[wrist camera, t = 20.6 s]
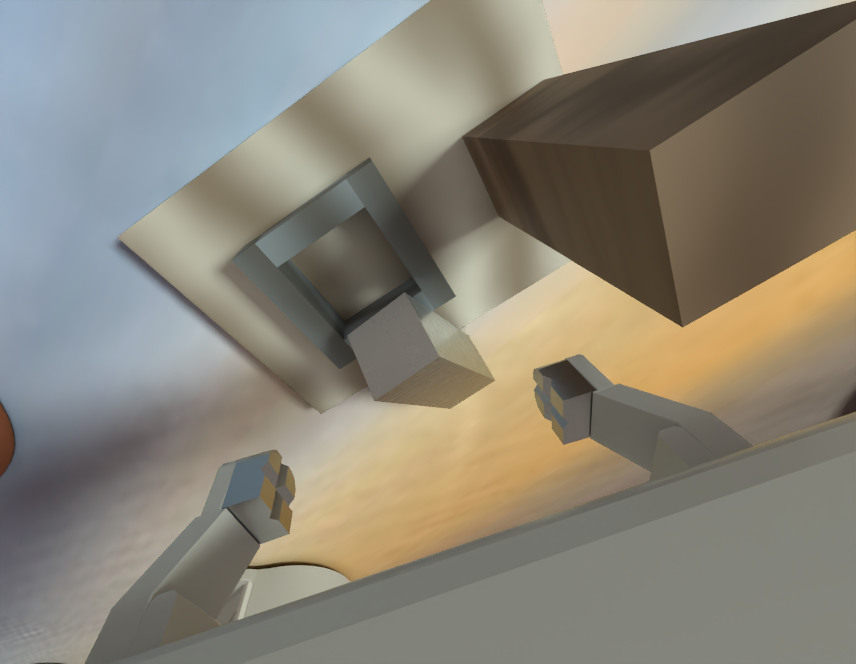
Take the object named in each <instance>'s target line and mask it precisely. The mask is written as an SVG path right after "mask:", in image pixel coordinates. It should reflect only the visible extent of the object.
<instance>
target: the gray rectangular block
mask: <svg viewBox="0 0 856 664" xmlns="http://www.w3.org/2000/svg"><path fill="white" fill-rule="evenodd" d="M347 337H348V339H349V341H350V344H351V346H352V348H353V351H354V353H355V356H356V358H357V360H358V363H359V365H360V368H361V370H362V372H363V375H364V377H365V379H366V382H367V384H368V387H369V389H370V391H371V394H372V396H373V399H374V401H382V402H391V403H401V404H410V405H420V406H429V407H439V408H448V409H450V408H452V407H454V406H455V405H457V404H458V403H460V402H462V401H463V400H465V399H466V398H468V397H470V396H471V395H473V394H474V393H476V392H478V391H479V390H481V389H482V388H484V387H486V386H487V385H489V384H490V383H492V382H494V381H495V379H494V377H493V375H492V374H491V372H490V370H489V369H488V367H487V365H486V364H485V362H484V361H483V359H482V357H481V356H480V354H479V352H478V351H477V349H476V347H475V346H474V344H473V342H472V341H471V339H470V337H469V336H468V335H467V334H466V333H464V332H463V331H461V330H460V329H458V328H457V327H455V326H454V325H452V324H451V323H449V322H448V321H446V320H445V319H443V318H442V317H441V316H439V315H438V314H436V313H435V312H433V311H432V310H430V309H429V308H427V307H426V306H424V305H423V304H421V303H420V302H418V301H417V300H415V299H414V298H413V297H411V296H410V295H408V294H407V293H405V292H404V293H403V294H402V295H400V296H399V297H398V298H396V299H395V300H394V301H392V302H391V303H390V304H388V305H387V306H386V307H384V308H383V309H382V310H380V311H379V312H378V313H376V314H375V315H374V316H372V317H371V318H370V319H368V320H367V321H366V322H365V323H363V324H362V325H361V326H359V327H358V328H357V329H355V330H354V331H353V332H351V333H350V334H349V335H347Z"/></svg>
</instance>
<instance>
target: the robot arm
mask: <svg viewBox="0 0 856 664" xmlns="http://www.w3.org/2000/svg"><path fill="white" fill-rule="evenodd" d="M533 379H534V380H535V382H536V383H537V386H536V388H535V389H534V392H535V399H536V402H537V405H538V408H539V410H540V412H541V413H542V415H543V416H544V418H546V419H548V420H550V421H552V429H553V431H554V432H555V434H556V435H557V436H558V438H559V439H560V441H561V442H562V443H563V445H564V444H568V443H571V442H575V441H578V440H581V439H585V438H588V437H591V439H593V440H594V441H596V442H598V443H600V444H602V445H603V446H605V447H607V448H609V449H611V450H612V451H614V452H616V453H618V454H620V455H621V456H623V457H625V458H627V459H629V460H630V461H632V462H634V463H636V464H638V465H639V466H641V467H643V468H645V469H646V470H648V471H650V472H651V474H650V479H649V482H646V483H643V484H640V485H637V486H634V487H631V488H628V489H625V490H622V491H619V492H616V493H613V494H610V495H607V496H604V497H601V498H598V499H595V500H592V501H589V502H586V503H583V504H580V505H577V506H574V507H571V508H569V509H566V510H563V511H560V512H557V513H554V514H551V515H548V516H545V517H542V518H539V519H536V520H533V521H530V522H527V523H524V524H521V525H518V526H515V527H512V528H509V529H506V530H503V531H501V532H498V533H495V534H492V535H489V536H486V537H483V538H480V539H477V540H474V541H471V542H468V543H465V544H462V545H459V546H456V547H453V548H450V549H447V550H444V551H441V552H438V553H435V554H432V555H429V556H426V557H424V558H421V559H418V560H415V561H412V562H409V563H406V564H403V565H400V566H397V567H394V568H391V569H388V570H385V571H382V572H379V573H376V574H373V575H370V576H367V577H364V578H361V579H358V580H355V581H352V582H350V581H349V580H348V579H347V578H346V577H345V576H343V575H342V574H340V573H338V572H336V571H333V570H330V569H327V568H322V567H317V566H307V565H292V566H281V567H274V568H268V569H258V570H257V569H247V567H248V565H249V564H250V562H251V560H252V559H253V557H254V555H255V554H256V552H257V550H258V549H259V547H260V545H259V544H262V543H265V542H268V541H270V540H273V539H276V538H279V537H282V536H284V535H287V534H289V532H290V525H291V519H292V510H291V509H290V508H289V505H290V503H291V502H292V500H293V499H294V497H295V480H294V476H293V474H292V471H291V470H290V468H289V467H288V466H286V465H283V464H281V460H282V456H281V455H280V454H279V452H278V451H277V450H270V451H267V452H263V453H259V454H256V455H252V456H249V457H245V458H242V459H240V460H236V461H233V462H229V463H225V464H223V465H222V466H221V467H220V468H219V470H218V472H217V475H216V478H215V480H214V483H213V486H212V488H211V491H210V493H209V496H208V499H207V501H206V504H205V507H204V509H203V512H202V514H201V516H200V517H197V518H195V519H194V520H193V521H192V522H191V523H190V524H189V525H188V526H187V528H186V529H185V530H184V531H183V532H182V533H181V534H180V535H179V536H178V537H177V538H176V539H175V541H174V542H173V543H172V544H171V545H170V546H169V547H168V548H167V549H166V550H165V551H164V552H163V554H162V555H161V556H160V557H159V558H158V559H157V560H156V561H155V562H154V563H153V564H152V565H151V567H150V568H149V569H148V570H147V571H146V572H145V573H144V574H143V575H142V576H141V577H140V578H139V580H138V581H137V582H136V583H135V584H134V585H133V586H132V587H131V588H130V589H129V590H128V591H127V593H126V594H125V595H124V596H123V597H122V598H121V599H120V600H119V601H118V602H117V603H116V604H115V606H114V607H113V608H112V609H111V611H110V613H109V615H108V617H107V619H106V621H105V623H104V625H103V628H102V630H101V632H100V634H99V636H98V638H97V640H96V642H95V644H94V646H93V648H92V650H91V652H90V654H89V656H88V658H87V660H86V662H85V664H856V412H853V413H850V414H847V415H844V416H841V417H838V418H835V419H832V420H829V421H827V422H824V423H821V424H818V425H815V426H812V427H809V428H806V429H803V430H800V431H797V432H794V433H791V434H788V435H785V436H782V437H779V438H776V439H773V440H770V441H767V442H764V443H761V444H758V445H755V446H753V445H752V444H751V443H749V442H748V441H747V440H745V439H744V438H743V437H742V436H740V435H739V434H738V433H736V432H735V431H734V430H733V429H731V428H730V427H729V426H727V425H726V424H725V423H723V422H722V421H721V420H720V419H718V418H717V417H716V416H714V415H713V414H712V413H710V412H707V411H704V410H701V409H698V408H694V407H691V406H688V405H685V404H682V403H679V402H675V401H672V400H669V399H666V398H663V397H660V396H656V395H653V394H650V393H647V392H644V391H641V390H637V389H634V388H631V387H628V386H625V385H622V384H617V385H614V384H613V383H612V382H611V381H610V380H609V379H608V378H606V377H605V376H604V375H603V374H602V373H601V372H600V371H599V370H598V369H597V368H596V367H595V366H594V365H593V364H591V363H590V362H589V361H588V360H587V359H586V358H585V357H584V356H583V355H580V354H579V355H576V356H573V357H569V358H566V359H564V360H561V361H558V362H555V363H551V364H548V365H545V366H542V367H539V368H536V369H534V371H533Z"/></svg>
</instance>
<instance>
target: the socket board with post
mask: <svg viewBox="0 0 856 664" xmlns="http://www.w3.org/2000/svg"><path fill="white" fill-rule="evenodd" d="M855 230H856V1H853V2H850V3H846V4H842V5H838V6H834V7H830V8H826V9H822V10H818V11H814V12H810V13H806V14H802V15H798V16H794V17H790V18H786V19H782V20H778V21H774V22H770V23H766V24H762V25H758V26H754V27H751V28H747V29H743V30H739V31H735V32H731V33H727V34H723V35H719V36H715V37H711V38H707V39H703V40H699V41H695V42H691V43H687V44H683V45H679V46H675V47H671V48H667V49H663V50H659V51H655V52H651V53H648V54H644V55H640V56H636V57H632V58H628V59H624V60H620V61H616V62H612V63H608V64H604V65H600V66H596V67H592V68H588V69H584V70H580V71H576V72H572V73H568V74H564V75H563V73H562V70H561V66H560V63H559V59H558V56H557V52H556V49H555V45H554V42H553V38H552V35H551V31H550V28H549V24H548V21H547V17H546V14H545V10H544V7H543V3H542V0H431V1H429V2H428V3H427V4H425V5H424V6H423V7H421V8H420V9H419V10H417V11H416V12H415V13H414V14H412V15H411V16H410V17H408V18H407V19H406V20H404V21H403V22H402V23H400V24H399V25H398V26H396V27H395V28H394V29H392V30H391V31H390V32H388V33H387V34H386V35H384V36H383V37H382V38H380V39H379V40H378V41H376V42H375V43H374V44H372V45H371V46H370V47H369V48H367V49H366V50H365V51H363V52H362V53H361V54H359V55H358V56H357V57H355V58H354V59H353V60H351V61H350V62H349V63H347V64H346V65H345V66H343V67H342V68H341V69H339V70H338V71H337V72H335V73H334V74H333V75H331V76H330V77H329V78H327V79H326V80H325V81H323V82H322V83H321V84H320V85H318V86H317V87H316V88H314V89H313V90H312V91H310V92H309V93H308V94H306V95H305V96H304V97H302V98H301V99H300V100H298V101H297V102H296V103H294V104H293V105H292V106H290V107H289V108H288V109H286V110H285V111H284V112H282V113H281V114H280V115H278V116H277V117H276V118H274V119H273V120H272V121H271V122H269V123H268V124H267V125H265V126H264V127H263V128H261V129H260V130H259V131H257V132H256V133H255V134H253V135H252V136H251V137H249V138H248V139H247V140H245V141H244V142H243V143H241V144H240V145H239V146H237V147H236V148H235V149H233V150H232V151H231V152H229V153H228V154H227V155H226V156H224V157H223V158H222V159H220V160H219V161H218V162H216V163H215V164H214V165H212V166H211V167H210V168H208V169H207V170H206V171H204V172H203V173H202V174H200V175H199V176H198V177H196V178H195V179H194V180H192V181H191V182H190V183H188V184H187V185H186V186H184V187H183V188H182V189H180V190H179V191H178V192H177V193H175V194H174V195H173V196H171V197H170V198H169V199H167V200H166V201H165V202H163V203H162V204H161V205H159V206H158V207H157V208H155V209H154V210H153V211H151V212H150V213H149V214H147V215H146V216H145V217H143V218H142V219H141V220H139V221H138V222H137V223H135V224H134V225H133V226H131V227H130V228H129V229H128V230H126V231H125V232H124V233H122V234H121V235H120V236H118V238H119V239H120V240H121V241H122V242H123V243H125V244H126V245H127V246H128V247H129V248H130V249H131V250H133V251H134V252H135V253H136V254H137V255H138V256H140V257H141V258H142V259H143V260H144V261H145V262H146V263H148V264H149V265H150V266H151V267H152V268H153V269H155V270H156V271H157V272H158V273H159V274H160V275H161V276H163V277H164V278H165V279H166V280H167V281H168V282H169V283H171V284H172V285H173V286H174V287H175V288H176V289H178V290H179V291H180V292H181V293H182V294H183V295H184V296H186V297H187V298H188V299H189V300H190V301H191V302H193V303H194V304H195V305H196V306H197V307H198V308H199V309H201V310H202V311H203V312H204V313H205V314H206V315H207V316H209V317H210V318H211V319H212V320H213V321H214V322H216V323H217V324H218V325H219V326H220V327H221V328H222V329H224V330H225V331H226V332H227V333H228V334H229V335H231V336H232V337H233V338H234V339H235V340H236V341H237V342H239V343H240V344H241V345H242V346H243V347H244V348H246V349H247V350H248V351H249V352H250V353H251V354H252V355H254V356H255V357H256V358H257V359H258V360H259V361H260V362H262V363H263V364H264V365H265V366H266V367H267V368H269V369H270V370H271V371H272V372H273V373H274V374H275V375H277V376H278V377H279V378H280V379H281V380H282V381H284V382H285V383H286V384H287V385H288V386H289V387H290V388H292V389H293V390H294V391H295V392H296V393H297V394H299V395H300V396H301V397H302V398H303V399H304V400H305V401H307V402H308V403H309V404H310V405H311V406H312V407H313V408H315V409H316V410H317V411H318V412H319V413H320V414H322V413H323V412H325V411H327V410H328V409H330V408H331V407H333V406H335V405H336V404H338V403H340V402H341V401H343V400H345V399H346V398H348V397H349V396H351V395H353V394H354V393H356V392H358V391H359V390H361V389H362V388H364V387H366V386H367V385H368V384H367V382H366V379H365V377H364V375H363V372H362V370H361V368H360V365H359V363H358V360H357V358H356V356H355V353H354V351H353V348H352V346H351V344H350V341H349V339H348V337H347V335H349V334H350V333H351V332H353V331H354V330H355V329H357V328H358V327H359V326H361V325H362V324H363V323H365V322H366V321H367V320H368V319H370V318H371V317H372V316H374V315H375V314H376V313H378V312H379V311H380V310H382V309H383V308H384V307H386V306H387V305H388V304H390V303H391V302H392V301H394V300H395V299H396V298H398V297H399V296H400V295H402V294H403V293H404V292H405V293H407V294H408V295H410V296H411V297H413V298H414V299H415V300H417V301H418V302H420V303H421V304H423V305H424V306H426V307H427V308H429V309H430V310H432V311H433V312H435V313H436V314H438V315H439V316H441V317H442V318H443V319H445V320H446V321H448V322H449V323H451V324H452V325H454V326H455V327H457V328H458V329H460V328H462V327H464V326H465V325H467V324H468V323H470V322H472V321H473V320H475V319H477V318H478V317H480V316H482V315H483V314H485V313H486V312H488V311H490V310H491V309H493V308H495V307H496V306H498V305H499V304H501V303H503V302H504V301H506V300H508V299H509V298H511V297H513V296H514V295H516V294H517V293H519V292H521V291H522V290H524V289H526V288H527V287H529V286H530V285H532V284H534V283H535V282H537V281H539V280H540V279H542V278H543V277H545V276H547V275H548V274H550V273H552V272H553V271H555V270H557V269H558V268H560V267H561V266H563V265H565V264H566V263H568V262H570V261H571V260H572V261H573V262H575V263H577V264H578V265H580V266H582V267H583V268H585V269H587V270H588V271H590V272H592V273H593V274H595V275H597V276H598V277H600V278H602V279H603V280H605V281H607V282H608V283H610V284H612V285H613V286H615V287H617V288H618V289H620V290H621V291H623V292H625V293H626V294H628V295H630V296H631V297H633V298H635V299H636V300H638V301H640V302H641V303H643V304H645V305H646V306H648V307H650V308H651V309H653V310H655V311H656V312H658V313H660V314H661V315H663V316H665V317H666V318H668V319H670V320H671V321H673V322H675V323H676V324H678V325H680V326H681V327H684V326H686V325H688V324H690V323H691V322H693V321H695V320H697V319H698V318H700V317H702V316H704V315H706V314H707V313H709V312H711V311H713V310H714V309H716V308H718V307H720V306H722V305H723V304H725V303H727V302H729V301H730V300H732V299H734V298H736V297H738V296H739V295H741V294H743V293H745V292H746V291H748V290H750V289H752V288H754V287H755V286H757V285H759V284H761V283H762V282H764V281H766V280H768V279H770V278H771V277H773V276H775V275H777V274H778V273H780V272H782V271H784V270H786V269H787V268H789V267H791V266H793V265H794V264H796V263H798V262H800V261H801V260H803V259H805V258H807V257H809V256H810V255H812V254H814V253H816V252H817V251H819V250H821V249H823V248H825V247H826V246H828V245H830V244H832V243H833V242H835V241H837V240H839V239H841V238H842V237H844V236H846V235H848V234H849V233H851V232H853V231H855Z"/></svg>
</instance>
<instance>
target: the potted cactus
mask: <svg viewBox="0 0 856 664" xmlns="http://www.w3.org/2000/svg"><path fill="white" fill-rule="evenodd" d="M14 445H15V443H14V433H13V430H12V426H11V423H10V420H9V418H8V416H7V414H6V412H5V410H4V408H3V406H2V405H1V403H0V476H1V475H2V474H3V473H4V472H5V470H6V469H7V467H8V465H9V464H10V462H11V459H12V456H13V453H14Z"/></svg>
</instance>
